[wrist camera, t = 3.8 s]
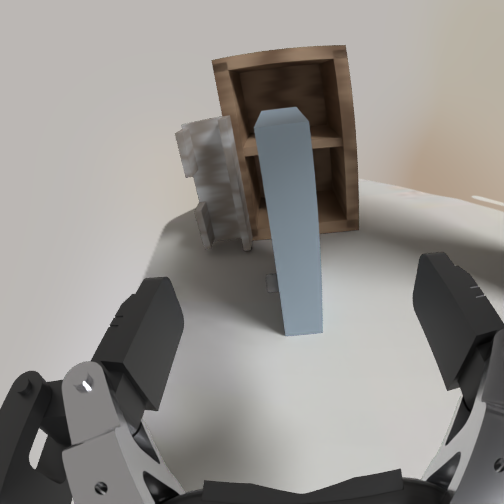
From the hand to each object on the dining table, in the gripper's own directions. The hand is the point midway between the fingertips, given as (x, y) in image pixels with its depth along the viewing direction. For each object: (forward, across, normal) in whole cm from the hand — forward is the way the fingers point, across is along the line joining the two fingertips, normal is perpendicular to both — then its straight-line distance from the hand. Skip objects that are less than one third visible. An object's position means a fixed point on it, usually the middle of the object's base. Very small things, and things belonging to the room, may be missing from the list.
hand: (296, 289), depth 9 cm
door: (+14, 0, +12) cm, 19 cm away
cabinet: (+30, +1, +12) cm, 32 cm away
